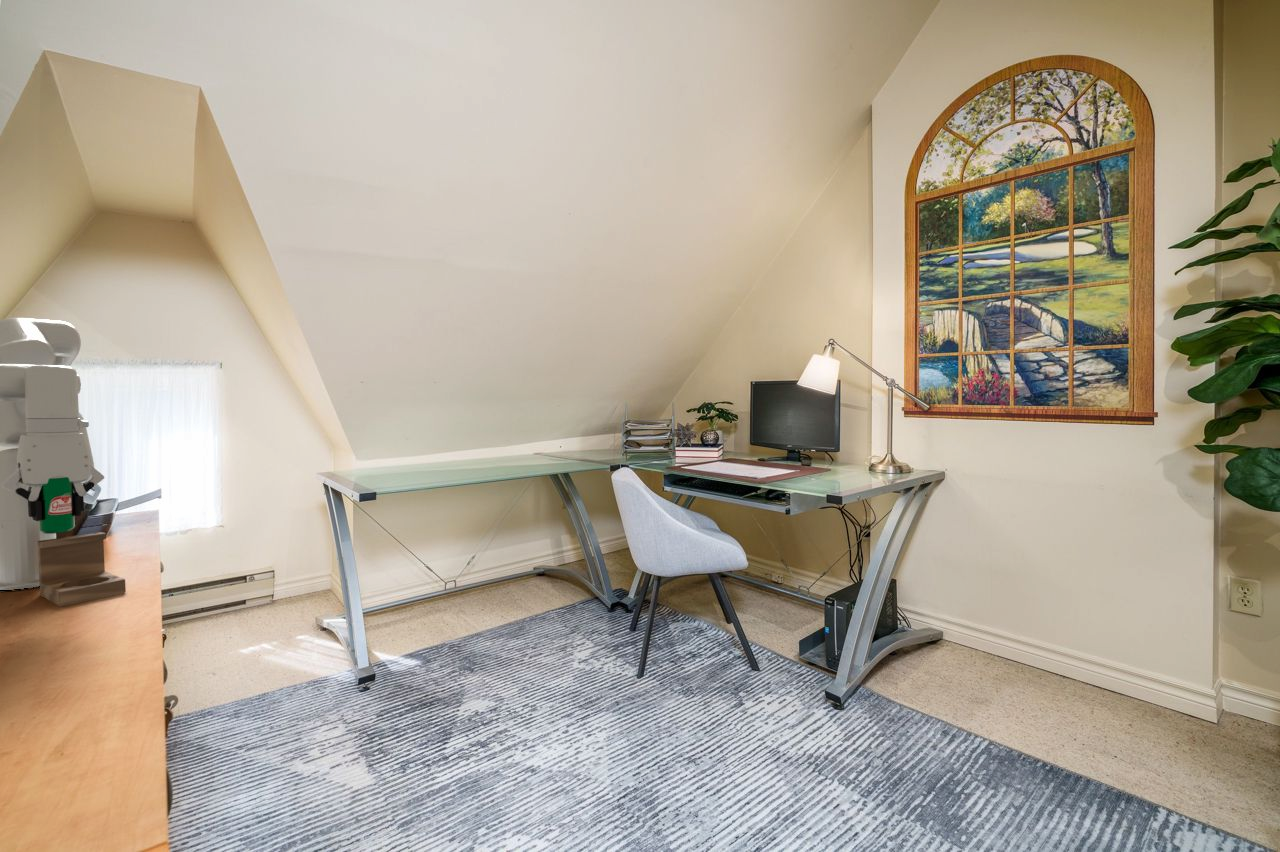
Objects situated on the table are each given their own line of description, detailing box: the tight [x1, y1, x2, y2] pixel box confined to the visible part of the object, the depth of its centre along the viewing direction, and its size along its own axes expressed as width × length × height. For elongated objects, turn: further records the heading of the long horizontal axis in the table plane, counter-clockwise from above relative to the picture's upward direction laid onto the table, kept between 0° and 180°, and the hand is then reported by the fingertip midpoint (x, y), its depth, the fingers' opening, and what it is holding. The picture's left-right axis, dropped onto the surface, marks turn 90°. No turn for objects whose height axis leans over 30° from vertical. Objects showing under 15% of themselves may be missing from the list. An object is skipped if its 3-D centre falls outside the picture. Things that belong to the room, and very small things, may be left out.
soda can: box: [38, 475, 76, 534], centre depth 118 cm, size 5×5×12 cm
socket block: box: [38, 531, 127, 608], centre depth 129 cm, size 14×10×12 cm
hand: (57, 516), depth 118 cm, fingers closed on soda can, 5 cm apart
